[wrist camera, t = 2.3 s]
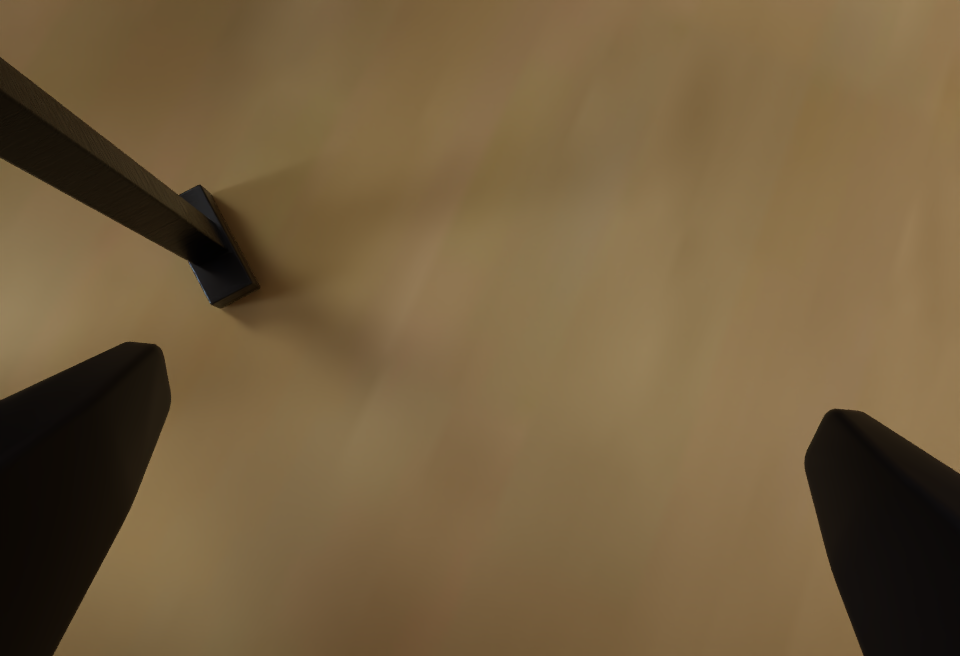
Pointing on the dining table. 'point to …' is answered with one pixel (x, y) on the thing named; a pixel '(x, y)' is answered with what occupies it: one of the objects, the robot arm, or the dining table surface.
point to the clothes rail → (118, 186)
